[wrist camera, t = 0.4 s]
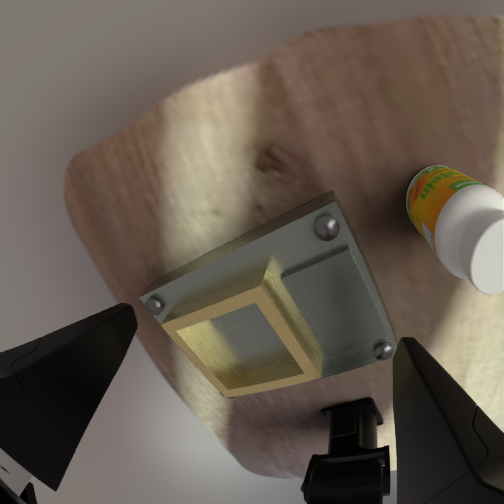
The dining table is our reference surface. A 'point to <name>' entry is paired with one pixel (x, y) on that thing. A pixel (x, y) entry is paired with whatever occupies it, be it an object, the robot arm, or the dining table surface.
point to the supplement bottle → (460, 224)
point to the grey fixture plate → (277, 304)
